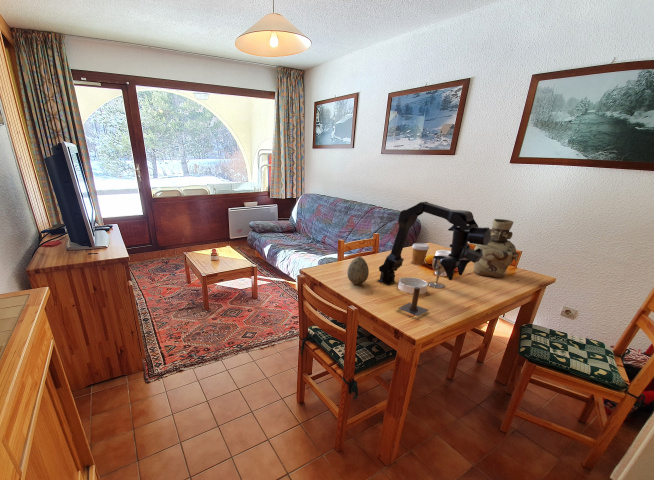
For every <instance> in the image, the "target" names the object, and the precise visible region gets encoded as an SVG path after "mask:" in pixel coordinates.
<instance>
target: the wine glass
mask: <svg viewBox="0 0 654 480" xmlns="http://www.w3.org/2000/svg"><path fill="white" fill-rule="evenodd" d="M444 257H445V256H436V255H434V256H433V257H432V261H431V267H432V269H433V271H434V273H435V272H436V274H437V275H436V274H435V275H436V280H435V282H429V283H428V287H431V288H435V289H442V288H444V287H445V286H444V285H443V284H442V283H439V278H440V277H441V276H440V275H441V274H442V273H443V272H444V271H445V270H444V268H443V266H442V265H441V264H440V260H441V259H442V258H444Z"/></svg>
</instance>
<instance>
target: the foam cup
mask: <svg viewBox="0 0 654 480" xmlns="http://www.w3.org/2000/svg"><path fill="white" fill-rule="evenodd" d="M450 253H451V250H448V249H447V250H446V249H438V250H436V251H435V256H445V257H449V254H450ZM434 274H435V275H436V276H437V274H436V272H435V271H434ZM439 277H448V276H447V274H446V272H445V271H444V272H443V273H442V274H441V275H440V276H439Z"/></svg>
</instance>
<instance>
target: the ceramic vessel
mask: <svg viewBox="0 0 654 480" xmlns="http://www.w3.org/2000/svg"><path fill="white" fill-rule="evenodd" d="M513 225H514V220H510V219H503V218H494V219H493V220H492V224H491V228H489V231H490V234H491V239H490V242H489V243H488V244H487V245H479V244H475V247H474V248H473V249H474V250H476V249H478V248H480V249H482V253H483V257H481V258H480V260H479V261H477V262H476V263H474V262H473V268H474V269H473V271H474V273H475V274H476V275H478V276H481V277H490V278H496V279H500V278H503V276H504V275H505V274H506V272H507V269H508V268H509V266H510V265H512V264H513V261H514V262H517V261H518V260H519V255H520V253H519V252H518V251H517V247H516V245H515V244H514V243H513V242H512V241H511V239H512V238H513V232H512V231H511V229H512V227H513Z"/></svg>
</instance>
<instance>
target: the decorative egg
mask: <svg viewBox="0 0 654 480" xmlns="http://www.w3.org/2000/svg"><path fill="white" fill-rule="evenodd" d="M369 271H370V270H369V265H368V263H367V261H366V260H365V258H363V257H362V256H356V257H354V258H353V259H352V260H351V261H350V263H349V265H348V267H347V274H346V275H347V278H348V280H349V281H350V282H351V283H352V284H353V285H356V286H359V285H362V284H364V283H365V282H366V281H368V278H369V274H370V272H369Z"/></svg>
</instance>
